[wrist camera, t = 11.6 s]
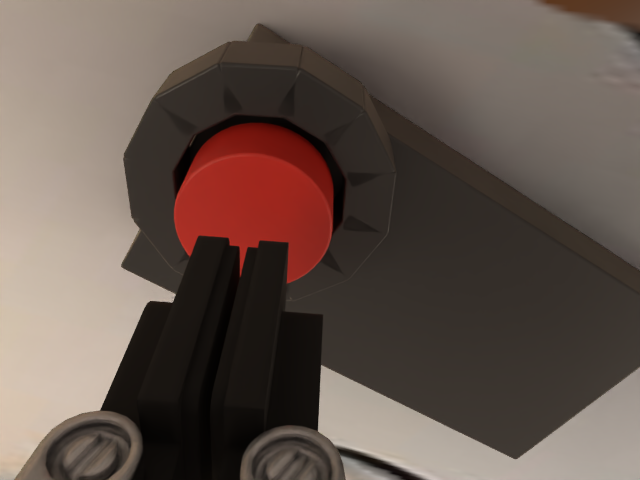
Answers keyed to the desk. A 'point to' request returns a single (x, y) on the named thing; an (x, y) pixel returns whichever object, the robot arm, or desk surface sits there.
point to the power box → (404, 250)
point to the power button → (259, 194)
